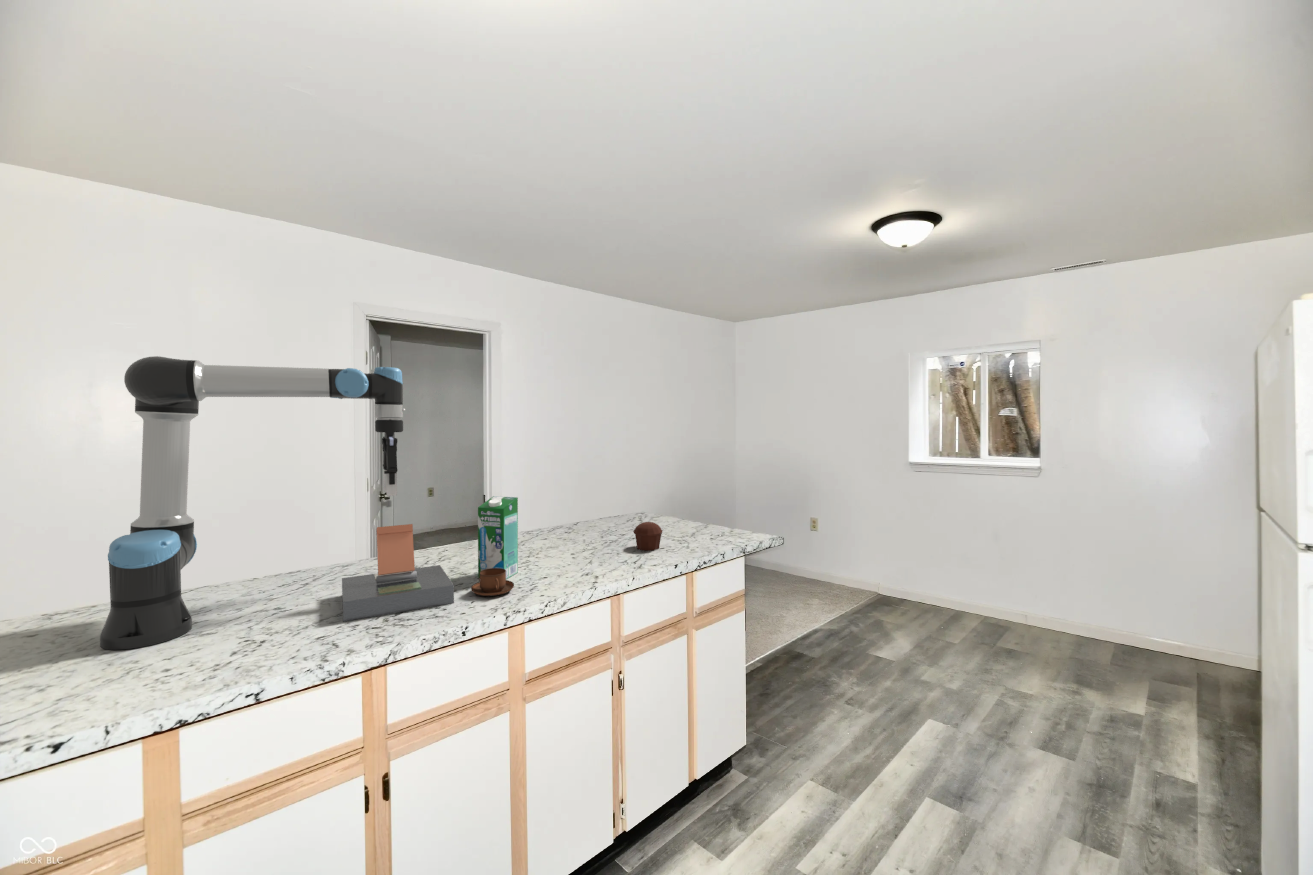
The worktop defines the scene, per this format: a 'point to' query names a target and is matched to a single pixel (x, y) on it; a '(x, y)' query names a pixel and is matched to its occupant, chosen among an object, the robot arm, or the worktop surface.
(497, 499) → the milk carton
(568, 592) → the worktop surface
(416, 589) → the box
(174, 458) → the robot arm
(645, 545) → the muffin
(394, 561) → the orange thin slab
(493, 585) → the cup and saucer
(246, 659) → the worktop surface
